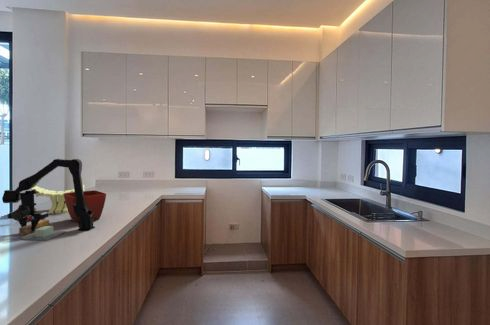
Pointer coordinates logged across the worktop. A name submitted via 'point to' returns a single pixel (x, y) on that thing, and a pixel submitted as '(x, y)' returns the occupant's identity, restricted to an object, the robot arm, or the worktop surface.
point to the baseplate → (55, 233)
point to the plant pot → (93, 201)
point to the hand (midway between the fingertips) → (28, 230)
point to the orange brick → (43, 223)
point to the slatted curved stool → (55, 199)
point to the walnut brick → (26, 230)
